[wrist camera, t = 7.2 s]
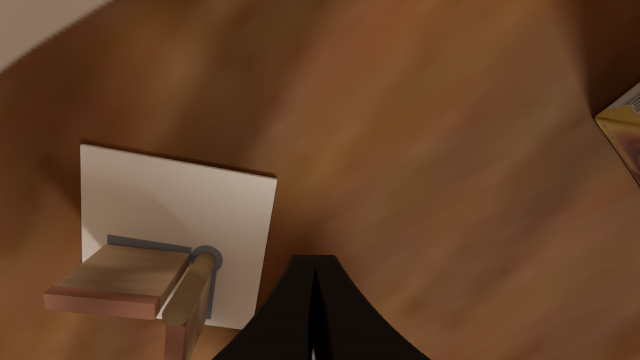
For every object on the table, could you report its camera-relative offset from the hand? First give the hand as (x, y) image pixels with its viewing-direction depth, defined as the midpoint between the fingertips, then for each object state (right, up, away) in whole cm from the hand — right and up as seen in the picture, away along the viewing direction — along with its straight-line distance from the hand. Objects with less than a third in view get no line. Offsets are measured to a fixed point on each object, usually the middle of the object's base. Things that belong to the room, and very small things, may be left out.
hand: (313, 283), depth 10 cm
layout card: (-9, -1, +10) cm, 14 cm away
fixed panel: (-7, -4, +11) cm, 14 cm away
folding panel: (-10, -1, +10) cm, 14 cm away
